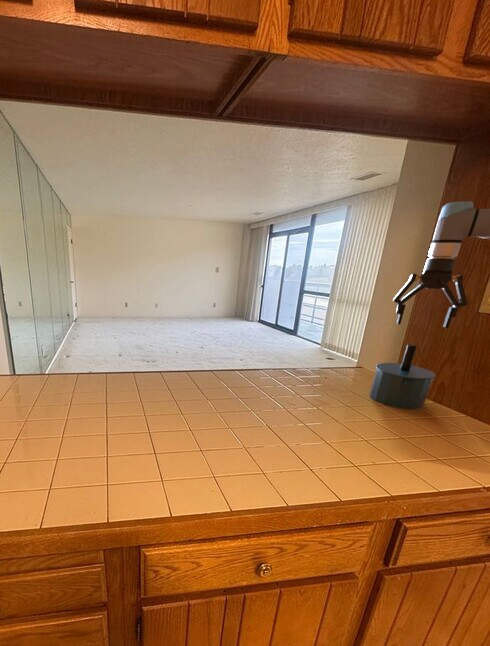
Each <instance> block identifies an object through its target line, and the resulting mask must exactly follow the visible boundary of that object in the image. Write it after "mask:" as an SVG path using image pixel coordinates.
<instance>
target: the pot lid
mask: <svg viewBox="0 0 490 646" xmlns="http://www.w3.org/2000/svg"><path fill="white" fill-rule="evenodd" d="M417 349H418V345H416V344H412V343H411V344H410V343H409V344H407V345H406V347H405V351H404V354H403V357H402V361H401V363H397V362H380V363H377V364H376V365H375V370H376V369H377V370H379V371H380V372H383V373H385V374H388V375H392V376H396V377H401V378H407V379H415V380H430V379H433V380H434V379H435V378H436V373H435V372H433V371H432V370H429V369H427V368H423V367H420V366H417V365H413V360H414V358H415V355H416V352H417Z"/></svg>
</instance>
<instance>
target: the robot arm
mask: <svg viewBox="0 0 490 646" xmlns="http://www.w3.org/2000/svg"><path fill="white" fill-rule="evenodd" d="M474 207H475V206H474V202H473V201H467V200H466V201H464V200H463V201H452V202H448V203H445V204H444V205H443V206H442V207H441V211H440V214H439V216H438V219H437V222H436V227H435V230H434V234H433V238H432V241H431V243H430V248H429V250H428V255H427V257H429V258H427V259H426V261H425V264H424V268H423V272H422V273H421V274H417V273H414V272H413V273H411V274H410V276H409V278H408V280H407V281H406V283H405V284H404V285H403V286H402V288H401V289H400V290H399V291H398V292H397V293H396V295H395V296H394V297H393V298H392V301H393V302H394V303H397V306H396V310H395V314H396V315H397V318H396V324H397V325H401V323H402V320H403V317H404V312H405V309H406V307H407V306H406V304H405V303H406V302H407V301H409V300H410V299H412V298H413V297H414V296H415V295H417V294H418V293H419V292H421V291H423V289H427V290H431V289H432V290H433V289H434V290H440V289H441V290H442V292H443V293H444V295H445V296H446V297H447V299H448V301H449V303H450V304H451V306H449V307H448V309H447V313H446V315H445V318H444V322H443V325H442V327H443V328H445V329H449V327H450V323H451V320H452V319H453V318H456V316H457V314H458V310H459V308H461V307H466V306H467V305H468V300H467V296H466V291H465V287H464V283H463V282H464V281H463V280H464V275H463V274H457V275H453V271H454V268H455V265H456V262H457V260H456V258H457V257H458V255H459V252H460V249H461V246H462V243H463V239H464V238H477V237H479V238H482V239H489V238H490V208H474ZM489 240H490V239H489ZM418 280H420V281H421V282H420V283H419V284H418V285H417V286H416V287H415V288H413V289H412V290H411V291H409V292H407V291H408V290H409V289H410V287H412V285H413V284H414V283H415V282H417V281H418ZM451 281H452V282H453V283H454V285H455V290H456V294H457V297H458V299H457V298H456V297H455V295H454V294H453V292H452V290H451V289H450V287H449V284H448V283H450V282H451ZM406 292H407V294H405V293H406ZM404 294H405V296H404Z"/></svg>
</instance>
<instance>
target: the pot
mask: <svg viewBox="0 0 490 646" xmlns="http://www.w3.org/2000/svg"><path fill="white" fill-rule="evenodd" d="M433 380H434V378H433V379H430V380H415V379H407V378H401V377H396V376H392V375H388V374H385V373H383V372H380V371H379V370H377V369H376V368H375V372H374V375H373V379H372V382H371V386H370V390H369V398H370V399H372V400H373V401H374V402H376V403H379V404H381V405H385V406H388V407H392V408H395V409H402V410H419V409H422V408H423V407H424V406H425V404H426V400H427V399H428V394H429V392H430V389H431V386H432V384H433Z"/></svg>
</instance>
